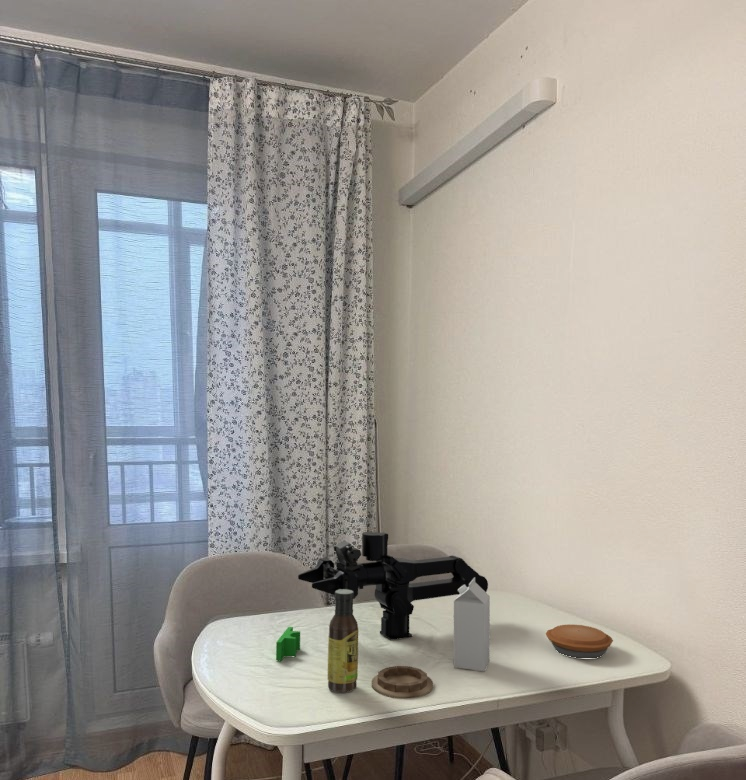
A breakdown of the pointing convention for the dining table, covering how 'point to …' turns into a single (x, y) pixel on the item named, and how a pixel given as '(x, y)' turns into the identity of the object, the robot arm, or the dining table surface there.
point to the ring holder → (402, 682)
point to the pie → (579, 641)
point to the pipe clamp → (288, 644)
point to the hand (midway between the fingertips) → (305, 581)
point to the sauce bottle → (343, 644)
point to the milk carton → (472, 628)
